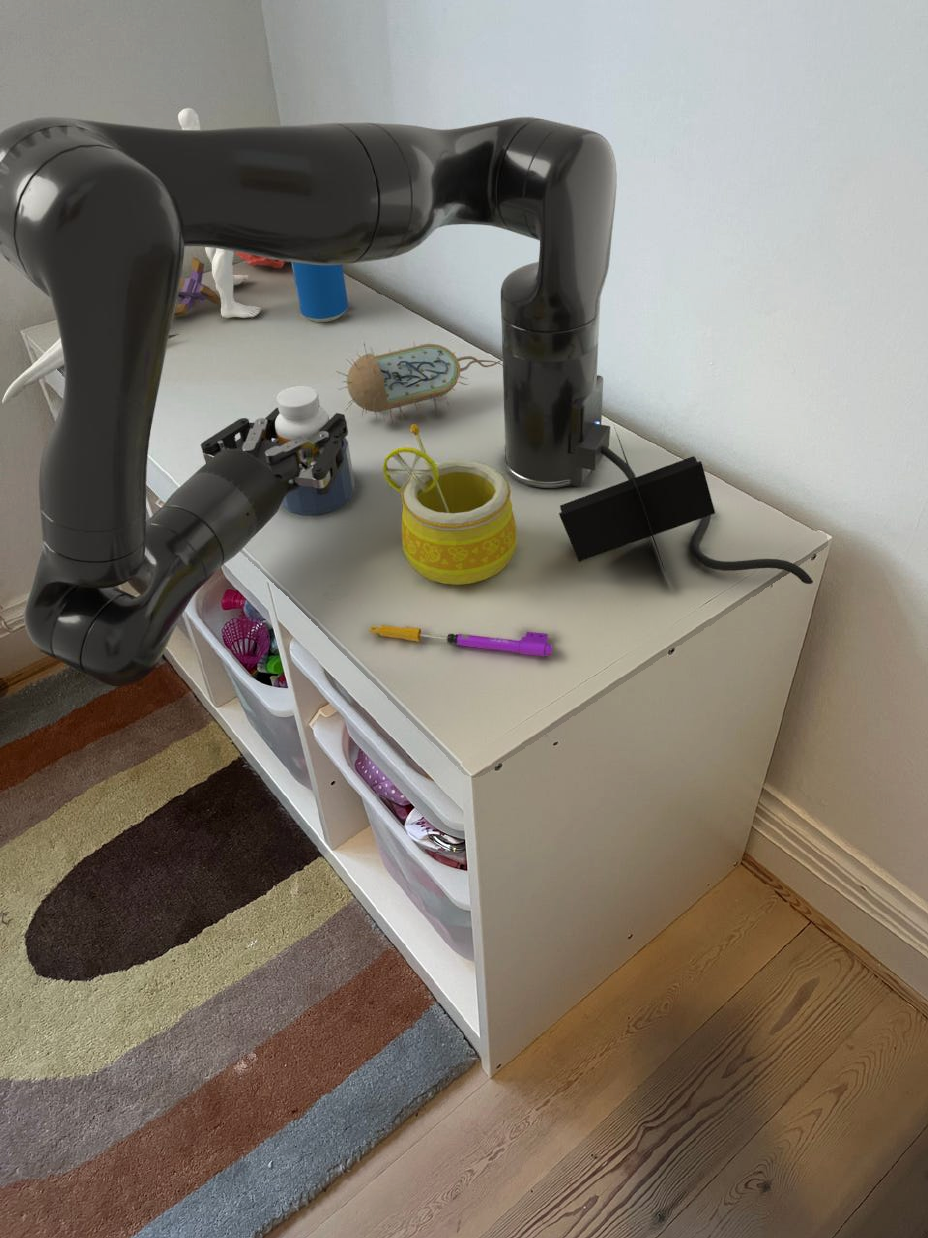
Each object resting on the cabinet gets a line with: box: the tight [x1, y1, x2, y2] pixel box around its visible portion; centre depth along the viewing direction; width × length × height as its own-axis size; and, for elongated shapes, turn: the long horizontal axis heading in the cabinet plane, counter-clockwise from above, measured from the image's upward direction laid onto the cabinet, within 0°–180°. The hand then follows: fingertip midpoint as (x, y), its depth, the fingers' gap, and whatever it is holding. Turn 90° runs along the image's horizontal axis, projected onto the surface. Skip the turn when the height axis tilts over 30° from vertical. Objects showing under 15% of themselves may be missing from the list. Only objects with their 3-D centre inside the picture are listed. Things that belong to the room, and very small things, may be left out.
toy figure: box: [173, 256, 221, 318], centre depth 132 cm, size 12×8×5 cm
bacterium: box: [336, 342, 503, 426], centre depth 108 cm, size 11×20×10 cm, turn 113°
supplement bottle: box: [275, 385, 331, 464], centre depth 96 cm, size 5×5×10 cm
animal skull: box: [1, 337, 65, 404], centre depth 123 cm, size 25×8×6 cm, turn 154°
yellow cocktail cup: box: [382, 423, 518, 586], centre depth 88 cm, size 13×11×12 cm
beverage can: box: [290, 262, 349, 323], centre depth 126 cm, size 6×6×12 cm
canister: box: [272, 436, 356, 516], centre depth 99 cm, size 8×8×6 cm
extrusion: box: [558, 423, 716, 580], centre depth 86 cm, size 12×12×10 cm
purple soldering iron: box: [369, 624, 553, 657], centre depth 83 cm, size 3×1×16 cm
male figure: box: [177, 107, 262, 319], centre depth 126 cm, size 13×7×25 cm, turn 27°
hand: (316, 416), depth 97 cm, fingers closed on supplement bottle, 5 cm apart
